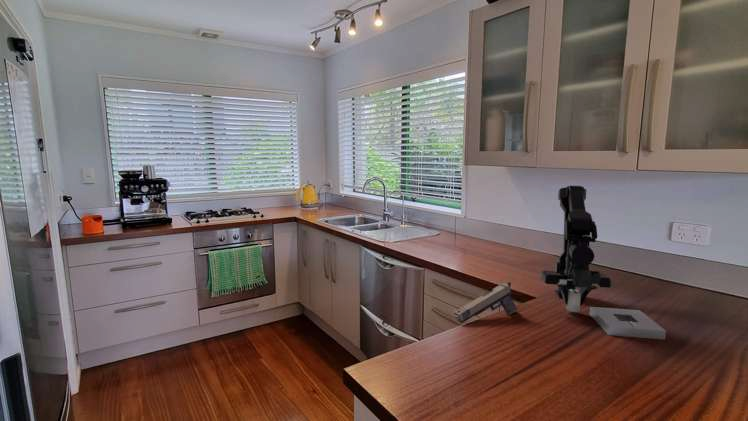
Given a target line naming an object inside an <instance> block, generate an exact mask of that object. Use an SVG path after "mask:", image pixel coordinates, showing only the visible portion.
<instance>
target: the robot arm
mask: <svg viewBox="0 0 748 421" xmlns="http://www.w3.org/2000/svg"><path fill="white" fill-rule="evenodd" d="M557 199H558V201H559V206H560V208H561V209H562V211H563V212H564V213H563V215H564V216H563V245H562V246H563V247H562V251H563V252H562V253H561V254H560V256H559V257H558V258H557V261H556V263H555V267H554V270H546V269H545V270H543V271H542V272H541V277H540V278H541V280H542V282H543V283H544V284H547V285H556V286H557V290H554V293H555V294H556V295H557V296H558V298H561V299H563V302H564V304H565V306H566V305H567V303H568V290H569V289H574V290H577V288H578V289H579V291H580V292H581V300H580V307H582V306H583V303H584V302H585V300H586V298H587V296H588V295H589V294H590V292H592V291H593V290H597V289H598V287H597V286H599V287H600V288H608V289H609V288H612V282H613V281H612V279H611V278H610V277H609V276H608V275H606V274H605V273H601V272H600V271H599V270H590V264H592V263H593V261H594V260H595V253H594V251H593V249H592V248H591V247H590V243H596V239H597V240H598V231H597V224H596V222H595V221H594V220H593V217H592V214H591V213H589V212H588V211H587V210H586V205H585V204H586V203H585V201H586V199H587V188H585V187H584V186H582V185H568V186H566V187H561V188H559V190H558V194H557ZM596 285H597V286H596Z"/></svg>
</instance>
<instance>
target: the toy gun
mask: <svg viewBox="0 0 748 421" xmlns="http://www.w3.org/2000/svg"><path fill="white" fill-rule="evenodd" d="M511 285H512V282H510V281H509V282H508V283H505V282H502V283H499V285H497V286H496V287H494V288H492V290H491V291H489V292H488V293H487V292H486V293H485V294H484V295H480V296H479V297H477V298H475V299H473V300H472V301H470V302H468V303H467V304H465V305H463V306H462V307H460V308H458V309H457V310H454V318H455V320H457V321H458V322H459V323H460V324H462V323H463V324H464V322H467V320H469V319H471V318H473V317H474V316H479V315H480V314H481V313H483V312H485V311H487V310H489V309H490V310H491V311H493V312H494V311H495V310H496V309H498V308H499V307H502V308H503V310H504V312H505V313H506V314H508V315H511V314H513V313H515V312H516V311H518V310H519V309H518V307H517V305H516V304H515V302H514V300H513V299H512V297H511V295H512V290H511ZM496 304H497V305H496Z"/></svg>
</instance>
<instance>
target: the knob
mask: <svg viewBox="0 0 748 421" xmlns="http://www.w3.org/2000/svg"><path fill="white" fill-rule="evenodd" d="M580 300H581V292H580V290H578V289H576V290H574V289H569V290H568V303H567V305H566V304H565V306H566V307H565V310H566V311H569V312H572V313H579V312H580V311H581V310H580V309H581V308H580V307H581V306H580Z"/></svg>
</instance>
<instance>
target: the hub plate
mask: <svg viewBox="0 0 748 421" xmlns="http://www.w3.org/2000/svg"><path fill="white" fill-rule="evenodd" d="M589 316H590V317H591V318H592V319H593V320H594V321H595V322H596V323H597V324H598V326H600V327H601V328H602V329H603V331H604V332H605V333H606V334H607V335H608V336H615V337H616V336H617V337H626V338H627V337H629V338H641V339H653V340H666V334H667V330H666V329H664V328H663V327H662V326H660V325H659V324H658V323H657V322H655V321H654V320H653V319H652V318H650V317H649V316H648V315H647V314H646V313H644V312H643V311H642V310H639V309H625V308H616V307H615V308H613V307H599V306H597V307H596V306H590V307H589Z"/></svg>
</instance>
